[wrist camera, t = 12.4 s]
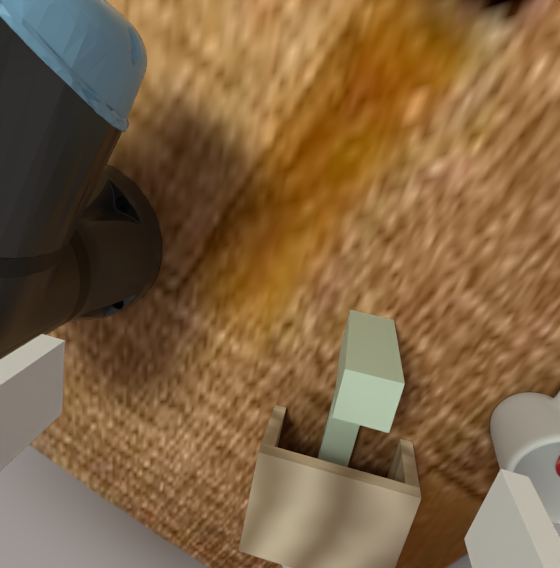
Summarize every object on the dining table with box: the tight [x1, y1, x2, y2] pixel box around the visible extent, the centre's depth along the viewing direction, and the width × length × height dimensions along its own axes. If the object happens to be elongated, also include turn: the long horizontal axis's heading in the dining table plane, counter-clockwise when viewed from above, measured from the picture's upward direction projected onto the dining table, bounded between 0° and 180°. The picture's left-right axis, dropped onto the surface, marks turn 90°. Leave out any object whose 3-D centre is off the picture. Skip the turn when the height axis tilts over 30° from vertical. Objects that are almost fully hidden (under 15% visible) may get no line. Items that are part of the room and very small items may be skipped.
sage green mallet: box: [317, 310, 405, 467], centre depth 37 cm, size 4×21×11 cm, turn 169°
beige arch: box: [239, 405, 421, 568], centre depth 41 cm, size 14×12×7 cm
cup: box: [490, 391, 560, 524], centre depth 35 cm, size 11×8×8 cm
